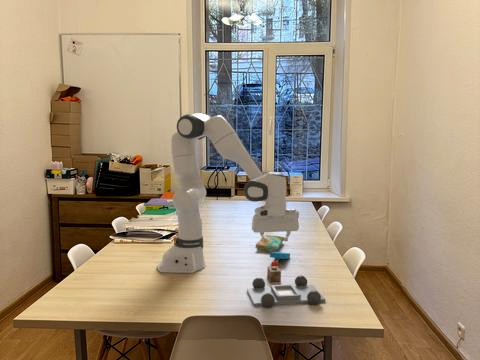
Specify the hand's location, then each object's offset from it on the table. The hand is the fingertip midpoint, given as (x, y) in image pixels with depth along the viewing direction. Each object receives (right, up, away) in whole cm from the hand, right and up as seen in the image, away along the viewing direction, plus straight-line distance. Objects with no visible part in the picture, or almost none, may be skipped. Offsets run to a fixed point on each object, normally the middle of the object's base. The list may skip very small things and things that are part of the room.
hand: (275, 241), depth 182 cm
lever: (+4, -14, +25) cm, 30 cm away
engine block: (0, -17, +2) cm, 17 cm away
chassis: (+3, -20, -15) cm, 25 cm away
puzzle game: (+2, -11, +50) cm, 51 cm away
